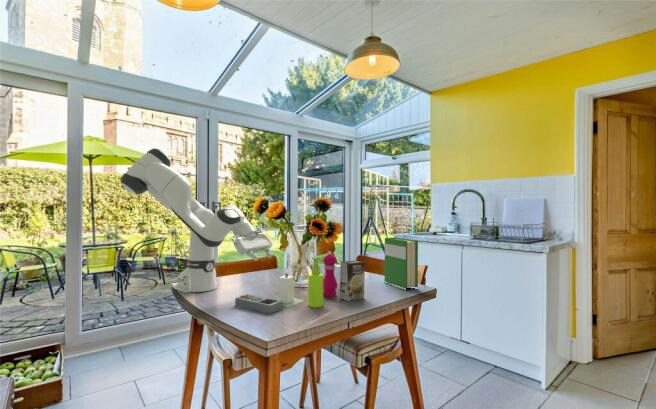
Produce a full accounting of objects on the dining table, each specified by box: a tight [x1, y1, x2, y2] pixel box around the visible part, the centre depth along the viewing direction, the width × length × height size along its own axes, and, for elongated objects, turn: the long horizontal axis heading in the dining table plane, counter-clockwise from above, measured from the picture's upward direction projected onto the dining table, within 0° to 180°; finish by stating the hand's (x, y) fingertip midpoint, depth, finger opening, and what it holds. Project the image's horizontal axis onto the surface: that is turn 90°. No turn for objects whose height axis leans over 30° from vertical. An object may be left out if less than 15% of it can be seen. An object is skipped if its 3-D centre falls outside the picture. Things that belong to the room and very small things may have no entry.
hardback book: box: [384, 236, 419, 289], centre depth 164 cm, size 18×7×24 cm, turn 24°
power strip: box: [234, 293, 284, 315], centre depth 124 cm, size 18×7×5 cm, turn 58°
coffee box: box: [339, 260, 366, 302], centre depth 141 cm, size 9×6×16 cm
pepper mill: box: [322, 250, 338, 298], centre depth 146 cm, size 7×7×20 cm
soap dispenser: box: [307, 255, 325, 308], centre depth 128 cm, size 6×7×20 cm
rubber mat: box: [275, 297, 306, 308], centre depth 132 cm, size 11×11×1 cm
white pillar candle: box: [278, 272, 295, 303], centre depth 132 cm, size 4×4×12 cm
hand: (263, 258), depth 140 cm, fingers open, 8 cm apart
